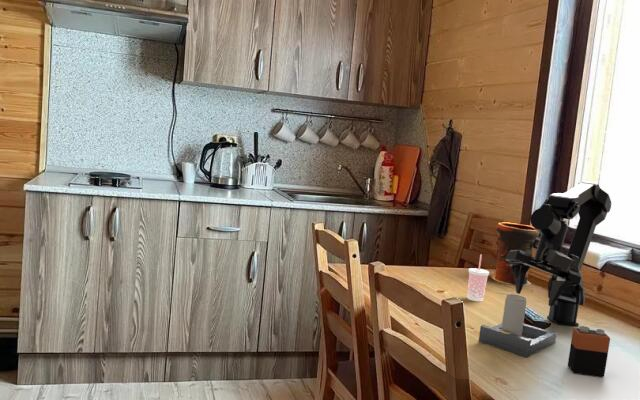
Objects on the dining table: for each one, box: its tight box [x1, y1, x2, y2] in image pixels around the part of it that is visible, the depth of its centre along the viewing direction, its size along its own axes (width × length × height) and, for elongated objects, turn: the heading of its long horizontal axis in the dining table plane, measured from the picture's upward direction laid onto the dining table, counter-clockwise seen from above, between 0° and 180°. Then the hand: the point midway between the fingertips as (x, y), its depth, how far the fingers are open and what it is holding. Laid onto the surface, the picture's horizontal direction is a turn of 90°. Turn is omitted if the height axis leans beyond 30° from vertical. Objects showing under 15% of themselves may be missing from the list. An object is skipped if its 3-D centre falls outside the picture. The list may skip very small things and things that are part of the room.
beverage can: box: [501, 294, 527, 337], centre depth 150 cm, size 5×5×12 cm
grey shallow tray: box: [478, 322, 557, 358], centre depth 153 cm, size 18×12×4 cm
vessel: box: [489, 221, 540, 286], centre depth 221 cm, size 14×14×20 cm
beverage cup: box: [467, 254, 490, 302], centre depth 190 cm, size 6×6×14 cm
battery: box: [567, 325, 611, 378], centre depth 137 cm, size 4×7×10 cm, turn 83°
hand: (534, 299), depth 157 cm, fingers open, 9 cm apart
